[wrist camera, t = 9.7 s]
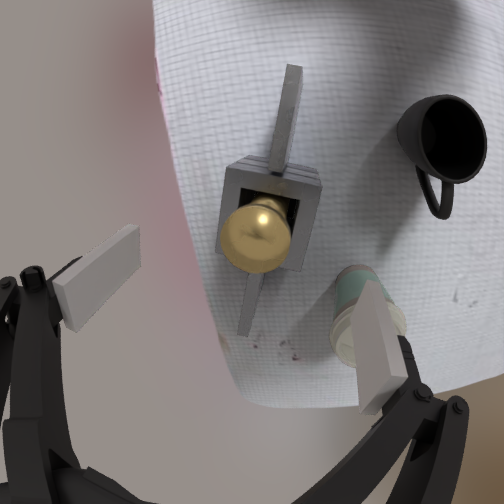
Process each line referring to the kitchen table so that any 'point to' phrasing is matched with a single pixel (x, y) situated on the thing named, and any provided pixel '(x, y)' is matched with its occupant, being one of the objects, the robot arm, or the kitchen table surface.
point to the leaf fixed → (308, 196)
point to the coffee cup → (345, 302)
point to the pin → (258, 234)
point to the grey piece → (284, 129)
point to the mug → (443, 145)
